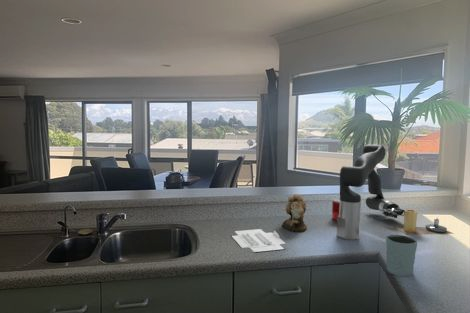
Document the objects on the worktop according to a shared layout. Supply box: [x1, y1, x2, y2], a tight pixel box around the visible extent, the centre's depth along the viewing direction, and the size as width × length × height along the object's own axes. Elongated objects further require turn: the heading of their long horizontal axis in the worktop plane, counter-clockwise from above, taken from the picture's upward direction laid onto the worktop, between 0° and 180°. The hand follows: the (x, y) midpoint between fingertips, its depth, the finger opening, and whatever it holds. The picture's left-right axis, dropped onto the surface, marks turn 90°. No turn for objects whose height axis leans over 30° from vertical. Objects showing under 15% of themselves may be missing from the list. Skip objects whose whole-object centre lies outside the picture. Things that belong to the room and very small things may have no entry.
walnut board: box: [394, 226, 454, 236], centre depth 166 cm, size 24×11×5 cm, turn 97°
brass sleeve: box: [403, 208, 418, 233], centre depth 165 cm, size 5×5×10 cm
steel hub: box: [424, 217, 448, 233], centre depth 167 cm, size 9×9×6 cm
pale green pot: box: [385, 234, 418, 277], centre depth 123 cm, size 10×10×12 cm
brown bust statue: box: [281, 193, 308, 233], centre depth 174 cm, size 18×12×17 cm, turn 8°
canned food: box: [331, 198, 340, 222], centre depth 189 cm, size 8×8×11 cm
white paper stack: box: [231, 228, 287, 253], centre depth 154 cm, size 20×28×4 cm
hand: (405, 216), depth 170 cm, fingers open, 8 cm apart
